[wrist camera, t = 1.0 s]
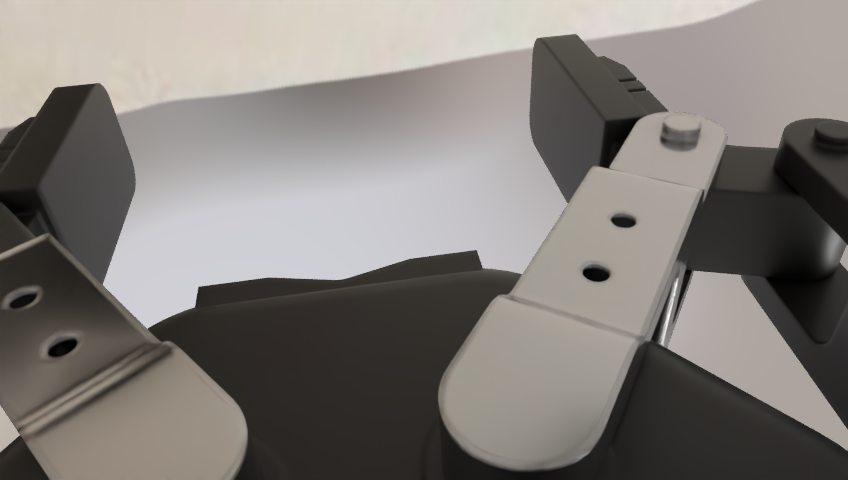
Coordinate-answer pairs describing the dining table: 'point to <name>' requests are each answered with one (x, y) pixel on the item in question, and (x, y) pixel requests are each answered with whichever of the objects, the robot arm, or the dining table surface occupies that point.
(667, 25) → the dining table surface
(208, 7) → the dining table surface
